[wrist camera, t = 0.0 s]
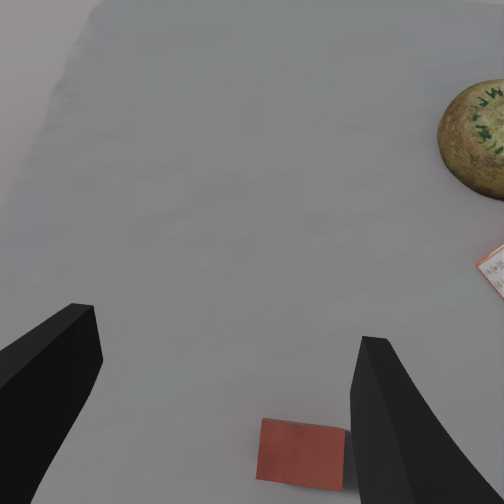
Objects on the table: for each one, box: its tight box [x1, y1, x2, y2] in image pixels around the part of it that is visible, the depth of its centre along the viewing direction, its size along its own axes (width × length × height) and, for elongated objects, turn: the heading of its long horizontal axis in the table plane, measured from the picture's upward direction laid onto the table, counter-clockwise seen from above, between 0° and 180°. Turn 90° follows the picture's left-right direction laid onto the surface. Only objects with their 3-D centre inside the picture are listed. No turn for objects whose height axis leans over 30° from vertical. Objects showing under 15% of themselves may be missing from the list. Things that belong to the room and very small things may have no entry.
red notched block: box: [256, 418, 345, 491], centre depth 39 cm, size 5×7×4 cm, turn 83°
